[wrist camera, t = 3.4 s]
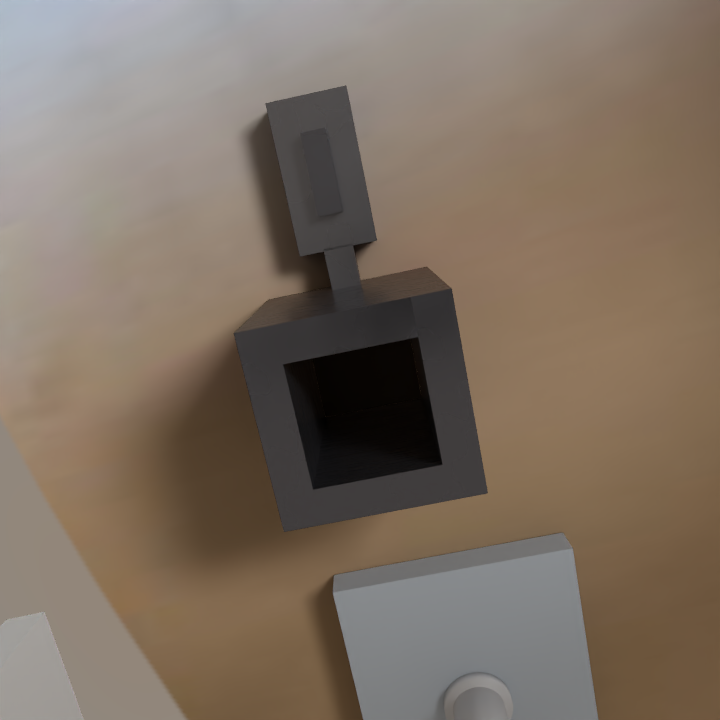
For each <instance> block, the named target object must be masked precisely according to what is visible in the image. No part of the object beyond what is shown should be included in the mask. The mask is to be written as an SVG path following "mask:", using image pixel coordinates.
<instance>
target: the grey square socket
mask: <svg viewBox="0 0 720 720" xmlns="http://www.w3.org/2000/svg"><path fill="white" fill-rule="evenodd" d="M265 104H266V108H267V112H268V117H269V121H270V126H271V130H272V135H273V139H274V144H275V148H276V152H277V157H278V161H279V166H280V170H281V175H282V179H283V184H284V188H285V192H286V197H287V201H288V206H289V210H290V215H291V219H292V224H293V228H294V232H295V237H296V241H297V246H298V250H299V255H300V256H305V255H310V254H314V253H319V252H324V254H325V259H326V263H327V268H328V273H329V277H330V282H331V287H327V288H322V289H318V290H313V291H308V292H303V293H298V294H293V295H289V296H284V297H279V298H274V299H269V300H268V301H267V302H265V303H264V304H263V305H262V306H261V307H260V308H259V309H258V310H257V311H256V312H255V313H254V314H253V315H252V316H251V317H250V318H249V319H248V320H247V321H246V322H245V323H244V324H243V325H242V326H241V327H240V328H239V329H238V330H237V331H236V332H235V333H234V336H235V340H236V344H237V348H238V352H239V356H240V360H241V364H242V368H243V372H244V376H245V380H246V384H247V388H248V391H249V395H250V399H251V403H252V407H253V411H254V415H255V419H256V423H257V427H258V431H259V435H260V439H261V443H262V447H263V451H264V455H265V459H266V463H267V467H268V471H269V474H270V478H271V482H272V486H273V490H274V494H275V498H276V502H277V506H278V510H279V514H280V518H281V522H282V526H283V530H284V532H286V531H292V530H297V529H302V528H307V527H313V526H318V525H323V524H328V523H334V522H339V521H344V520H350V519H355V518H360V517H365V516H371V515H376V514H381V513H386V512H392V511H397V510H402V509H407V508H413V507H418V506H423V505H429V504H434V503H439V502H444V501H450V500H455V499H460V498H465V497H471V496H476V495H481V494H486V493H488V492H487V486H486V480H485V475H484V469H483V463H482V458H481V452H480V446H479V441H478V435H477V429H476V424H475V418H474V412H473V407H472V401H471V396H470V390H469V384H468V379H467V373H466V367H465V362H464V356H463V350H462V345H461V339H460V333H459V328H458V322H457V316H456V311H455V305H454V299H453V294H452V289H451V288H450V287H449V286H448V285H447V284H446V283H445V282H444V281H442V280H441V279H440V278H439V277H438V276H437V275H436V274H435V273H433V272H432V271H431V270H430V269H429V268H428V267H424V268H419V269H414V270H409V271H404V272H400V273H395V274H390V275H385V276H380V277H375V278H371V279H366V280H360V275H359V270H358V265H357V260H356V256H355V251H354V246H353V245H357V244H362V243H367V242H372V241H376V240H377V238H376V233H375V228H374V223H373V218H372V213H371V208H370V203H369V198H368V193H367V187H366V182H365V177H364V172H363V167H362V162H361V157H360V152H359V147H358V142H357V137H356V132H355V127H354V122H353V117H352V112H351V107H350V102H349V97H348V92H347V87H346V86H342V87H337V88H333V89H328V90H324V91H319V92H315V93H310V94H306V95H301V96H297V97H292V98H288V99H283V100H279V101H274V102H270V103H265ZM406 339H410V341H411V346H412V351H413V357H414V362H415V367H416V372H417V377H418V382H419V387H420V393H421V398H419V399H414V400H409V401H404V402H398V403H393V404H388V405H383V406H378V407H373V408H368V409H363V410H358V411H353V412H348V413H343V414H338V415H333V416H328V417H326V416H325V412H324V407H323V403H322V398H321V394H320V390H319V385H318V381H317V377H316V372H315V368H314V363H313V359H312V358H317V357H322V356H327V355H332V354H337V353H342V352H346V351H351V350H356V349H361V348H366V347H371V346H376V345H381V344H386V343H391V342H396V341H401V340H406Z"/></svg>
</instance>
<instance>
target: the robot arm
mask: <svg viewBox="0 0 720 720" xmlns="http://www.w3.org/2000/svg"><path fill="white" fill-rule="evenodd" d="M0 720H84V718H83V715H82V713H81V710H80V707H79V705H78V702H77V699H76V697H75V694H74V691H73V688H72V686H71V683H70V680H69V677H68V674H67V672H66V669H65V666H64V664H63V661H62V658H61V655H60V653H59V650H58V647H57V645H56V642H55V639H54V636H53V634H52V631H51V628H50V625H49V623H48V620H47V617H46V615H45V612H40V613H35V614H30V615H26V616H21V617H16V618H11V619H6V620H5V622H4V623H3V624H2V625H1V626H0Z"/></svg>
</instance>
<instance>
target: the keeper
mask: <svg viewBox="0 0 720 720" xmlns="http://www.w3.org/2000/svg"><path fill="white" fill-rule="evenodd" d="M333 596H334V600H335V604H336V608H337V613H338V617H339V621H340V625H341V629H342V633H343V637H344V642H345V646H346V650H347V654H348V658H349V662H350V667H351V671H352V675H353V679H354V683H355V687H356V691H357V696H358V700H359V704H360V708H361V712H362V716H363V720H598V714H597V708H596V701H595V694H594V688H593V681H592V674H591V668H590V661H589V654H588V647H587V641H586V634H585V627H584V621H583V614H582V607H581V601H580V594H579V587H578V581H577V574H576V567H575V561H574V554H573V548H572V546H571V545H570V543H569V542H568V540H567V538H566V537H565V535H564V534H563V533H557V534H552V535H547V536H541V537H536V538H530V539H525V540H520V541H514V542H509V543H504V544H498V545H493V546H487V547H482V548H477V549H471V550H466V551H461V552H455V553H450V554H444V555H439V556H434V557H428V558H423V559H418V560H412V561H407V562H401V563H396V564H391V565H385V566H380V567H375V568H369V569H364V570H358V571H353V572H348V573H342V574H337V575H334V583H333Z"/></svg>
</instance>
